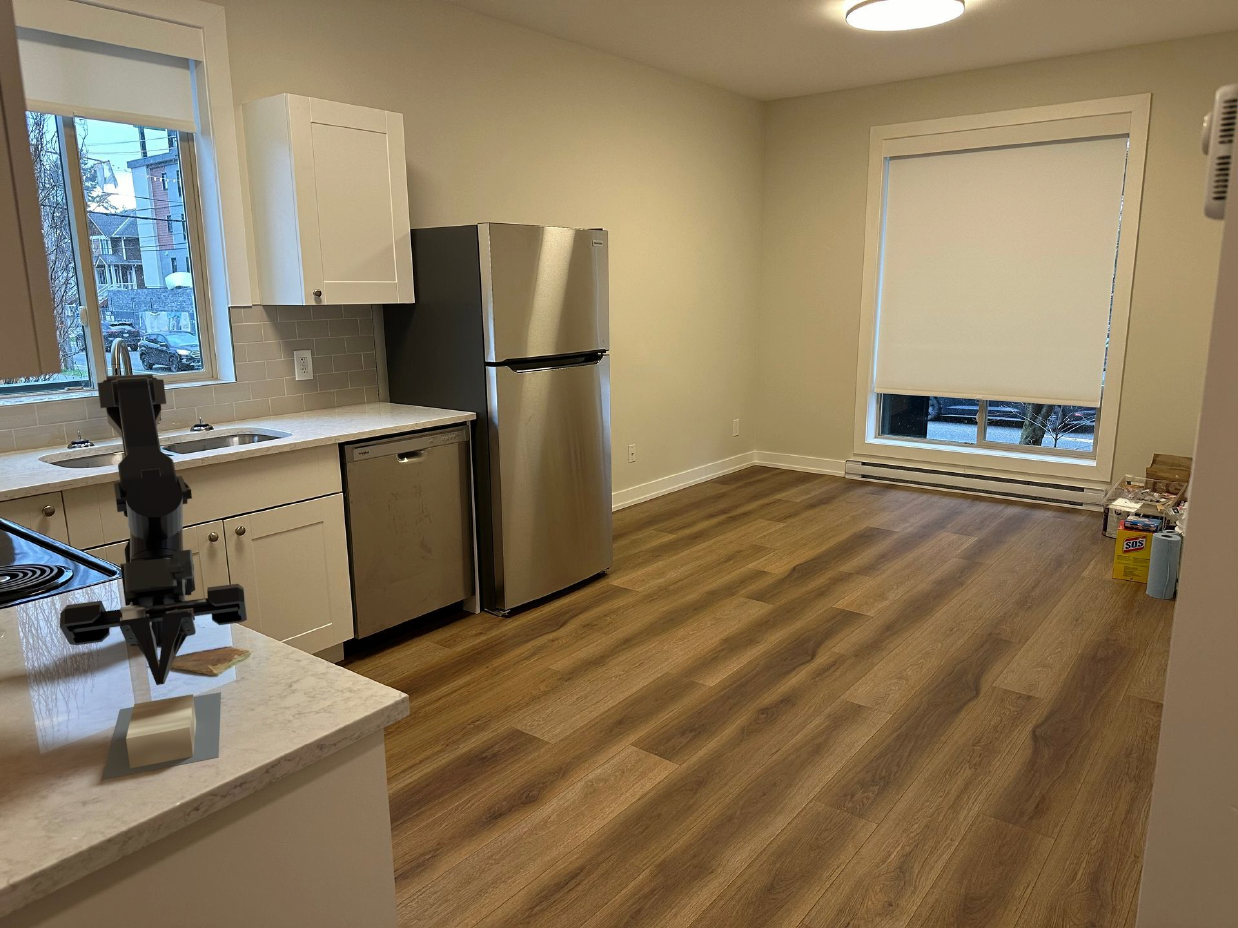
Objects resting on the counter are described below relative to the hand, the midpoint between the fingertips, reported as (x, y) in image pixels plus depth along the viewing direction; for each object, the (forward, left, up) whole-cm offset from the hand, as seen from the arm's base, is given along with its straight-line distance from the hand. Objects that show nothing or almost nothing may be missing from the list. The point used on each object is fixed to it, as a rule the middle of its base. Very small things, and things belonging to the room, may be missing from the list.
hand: (159, 683), depth 96 cm
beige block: (-1, -1, -4) cm, 5 cm away
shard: (-17, -4, -7) cm, 19 cm away
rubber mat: (0, 0, -7) cm, 7 cm away
